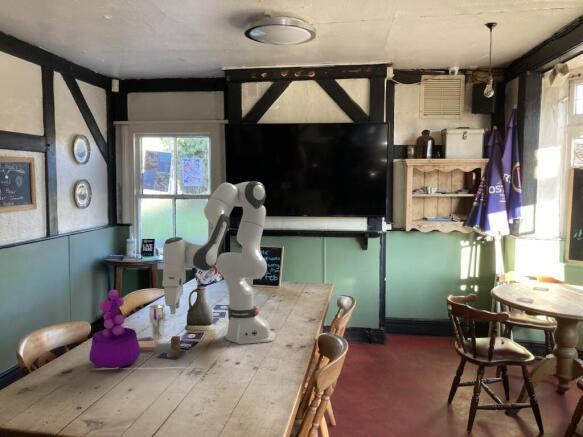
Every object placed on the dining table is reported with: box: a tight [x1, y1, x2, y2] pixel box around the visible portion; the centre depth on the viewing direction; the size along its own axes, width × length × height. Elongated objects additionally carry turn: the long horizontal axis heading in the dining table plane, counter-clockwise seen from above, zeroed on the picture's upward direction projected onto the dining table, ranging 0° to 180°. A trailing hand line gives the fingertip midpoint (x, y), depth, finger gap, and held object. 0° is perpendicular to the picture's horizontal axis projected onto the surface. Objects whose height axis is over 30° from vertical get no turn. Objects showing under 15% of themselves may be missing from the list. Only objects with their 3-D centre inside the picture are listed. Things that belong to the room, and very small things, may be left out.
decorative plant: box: [88, 289, 141, 369], centre depth 188 cm, size 19×18×30 cm
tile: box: [138, 340, 159, 351], centre depth 205 cm, size 2×7×9 cm
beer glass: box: [148, 304, 166, 341], centre depth 218 cm, size 7×7×15 cm
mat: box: [140, 342, 171, 355], centre depth 205 cm, size 18×12×1 cm, turn 93°
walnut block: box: [170, 335, 181, 358], centre depth 198 cm, size 3×3×8 cm
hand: (175, 311), depth 196 cm, fingers open, 7 cm apart
